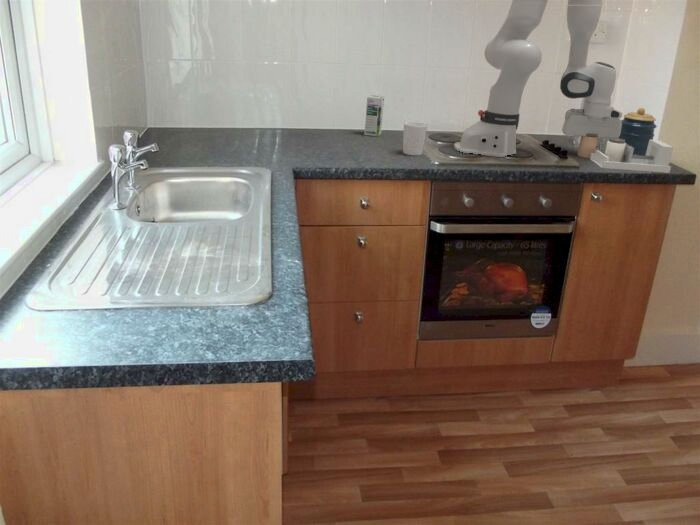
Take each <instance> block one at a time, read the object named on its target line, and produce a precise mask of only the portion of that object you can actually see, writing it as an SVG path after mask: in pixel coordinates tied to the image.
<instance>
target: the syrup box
mask: <svg viewBox="0 0 700 525" xmlns="http://www.w3.org/2000/svg"><path fill="white" fill-rule="evenodd" d="M384 104H385V95H384V96H383V95H373V94H369V95H367V96H366V107H365V108H366V110H365V124H364V131H363V132H364V136H370V137H371V136H373V137H380V135H381V134H382V126H383V117H384V116H383V115H384Z"/></svg>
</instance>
